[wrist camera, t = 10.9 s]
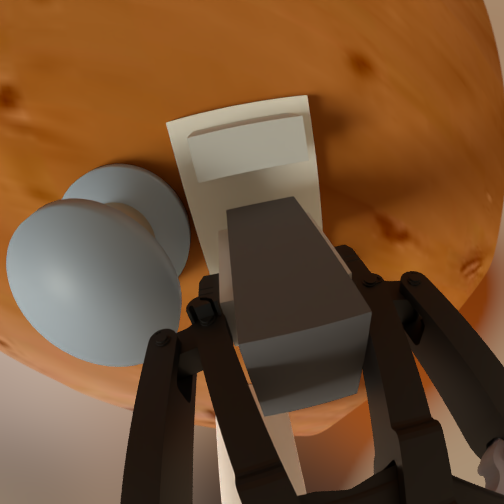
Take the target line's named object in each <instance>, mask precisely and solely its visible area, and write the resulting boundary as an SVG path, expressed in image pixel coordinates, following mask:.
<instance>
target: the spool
mask: <svg viewBox="0 0 504 504" xmlns="http://www.w3.org/2000/svg"><path fill="white" fill-rule="evenodd" d="M190 240H191V230H190V223H189V218H188V215H187V212H186V210H185V207H184V205H183V203H182V201H181V200H180V198H179V197H178V195H177V194H176V192H175V191H174V190H173V189H172V188H171V187H170V186H169V185H168V183H166V182H165V181H164V180H163V179H161V178H160V177H159V176H157V175H156V174H154V173H152V172H150V171H148V170H146V169H144V168H141V167H138V166H135V165H129V164H109V165H104V166H101V167H98V168H96V169H94V170H91V171H90V172H88V173H87V174H85V175H84V176H82V177H81V178H79V179H78V180H77V181H75V182H74V183H73V184H72V185H71V186H70V188H69V189H68V190H67V192H66V193H65V195H64V196H63V198H62V200H57V201H54V202H51V203H48V204H46V205H44V206H43V207H41V208H39V209H38V210H37V211H35V212H34V213H33V214H32V215H31V216H29V217H28V218H27V219H26V220H25V221H24V222H22V223H21V224H20V226H19V227H18V228H17V229H16V231H15V232H14V234H13V236H12V238H11V240H10V243H9V247H8V251H7V258H6V268H7V276H8V281H9V285H10V288H11V291H12V293H13V296H14V298H15V300H16V302H17V304H18V306H19V308H20V309H21V311H22V313H23V314H24V316H25V317H26V318H27V320H28V321H29V322H30V323H31V325H32V326H33V327H34V328H35V329H36V330H37V331H38V332H39V333H40V334H41V335H42V336H43V337H44V338H46V339H47V340H48V341H49V342H51V343H52V344H53V345H55V346H56V347H58V348H59V349H61V350H63V351H65V352H66V353H68V354H70V355H72V356H74V357H77V358H79V359H82V360H84V361H87V362H91V363H95V364H99V365H105V366H115V367H123V366H133V365H138V364H142V363H144V358H145V354H146V350H147V346H148V342H149V339H150V337H151V336H152V335H153V334H154V333H155V332H157V331H159V330H161V329H172V330H174V331H175V332H176V333H177V330H178V327H179V320H180V312H181V304H182V298H181V288H180V282H179V279H178V277H179V275H180V274H181V272H182V270H183V268H184V267H185V264H186V261H187V258H188V253H189V248H190Z"/></svg>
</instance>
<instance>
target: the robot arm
mask: <svg viewBox="0 0 504 504" xmlns="http://www.w3.org/2000/svg"><path fill="white" fill-rule="evenodd" d="M306 214H307V215H308V216H309V218H310V219H311V221H312V222H313V223H314V225H315V226H316V228H317V229H318V230H319V232H320V233H321V235H322V236H323V238H324V239H325V241H326V242H327V243H328V245H329V246H330V248H331V249H332V251H333V252H334V254H335V255H336V257H337V258H338V260H339V261H340V263H341V264H342V266H343V267H344V269H345V270H346V272H347V273H348V275H349V276H350V278H351V279H352V281H353V282H354V284H355V285H356V287H357V289H358V290H359V292H360V293H361V295H362V296H363V298H364V300H365V301H366V303H367V304H368V306H369V308H370V309H371V311H372V315H371V322H370V328H369V335H368V341H367V347H366V352H365V358H364V363H363V368H362V369H363V375H364V380H365V386H366V391H367V397H368V404H369V410H370V417H371V424H372V431H373V439H374V447H375V458H374V475H373V476H372V477H370V478H368V479H367V480H365V481H364V482H362V483H361V484H359V485H357V486H355V487H353V488H352V489H349V490H340V491H321V492H312V493H308V494H304V495H299V496H297V494H296V492H295V490H294V488H293V486H292V484H291V481H290V479H289V477H288V475H287V473H286V471H285V469H284V467H283V464H282V462H281V460H280V458H279V456H278V454H277V451H276V449H275V447H274V445H273V442H272V440H271V438H270V435H269V433H268V431H267V428H266V426H265V424H264V421H263V419H262V417H261V414H260V412H259V410H258V407H257V405H256V402H255V400H254V397H253V395H252V393H251V390H250V388H249V385H248V383H247V380H246V378H245V375H244V372H243V370H242V367H241V365H240V362H239V360H238V357H237V354H236V352H235V349H234V347H233V342H234V345H235V346H238V338H237V328H236V318H235V308H234V297H233V286H232V275H231V264H230V252H229V240H228V229H225V230H221V231H218V249H219V273H217V274H212V275H208V276H203V278H202V280H201V281H200V283H199V294H198V295H199V296H198V297H196V298H194V299H193V300H192V301H190V302H189V304H188V305H187V307H186V312H187V314H188V316H189V318H190V320H191V323H192V325H191V326H190V327H189V328H187V329H185V330H183V331H180V332H178V333H176V332H175V331H174V330H172V329H161V330H159V331H157V332H155V333H154V334H153V335H152V336H151V337H150V339H149V342H148V346H147V350H146V354H145V358H144V363H143V367H142V372H141V376H140V381H139V385H138V390H137V395H136V400H135V405H134V411H133V416H132V422H131V428H130V434H129V439H128V446H127V453H126V460H125V467H124V475H123V484H122V493H121V504H192V487H193V485H192V484H193V440H194V415H195V396H196V379H197V373H198V372H200V371H202V370H203V371H204V375H205V379H206V382H207V386H208V390H209V393H210V397H211V401H212V404H213V408H214V411H215V415H216V418H217V421H218V425H219V428H220V431H221V434H222V438H223V441H224V444H225V447H226V450H227V453H228V456H229V459H230V462H231V465H232V468H233V471H234V474H235V485H236V489H237V492H238V495H239V498H240V500H241V503H242V504H504V367H503V365H502V364H501V363H500V361H499V360H498V359H497V357H496V356H495V355H494V353H493V352H492V351H491V350H490V348H489V347H488V346H487V345H486V343H485V342H484V341H483V340H482V338H481V337H480V336H479V335H478V334H477V332H476V331H475V330H474V329H473V328H472V327H471V325H470V324H469V323H468V322H467V321H466V319H465V318H464V317H463V316H462V315H461V314H460V313H459V312H458V310H457V309H456V308H455V307H454V306H453V305H452V304H451V303H450V302H449V300H448V299H447V298H446V297H445V296H444V295H443V294H442V293H441V292H440V291H439V290H438V289H437V288H436V287H435V286H434V285H433V284H432V283H431V282H430V280H429V279H428V278H427V277H426V276H424V275H423V274H422V273H419V272H415V271H410V272H406V273H404V274H403V275H402V276H401V280H400V281H384V280H383V278H382V277H381V276H379V275H377V274H374V273H371V272H370V271H369V270H368V268H367V267H366V266H365V264H364V263H363V262H362V260H361V259H360V258H359V257H358V255H356V253H355V251H354V250H353V249H352V248H350V247H348V246H347V245H341V246H337V247H333V245H332V244H331V242H330V241H329V240H328V238H327V237H326V235H325V234H324V233H323V231H322V230H321V229H320V227H319V226H318V224H317V223H316V222H315V220H314V219H313V218H312V216H311V215H310V214H309V212H306ZM411 350H412V351H411ZM412 352H413V353H414V355H415V356H416V358H417V359H418V361H419V362H420V364H421V365H422V367H423V368H424V370H425V371H426V373H427V374H428V376H429V378H430V379H431V381H432V383H433V384H434V386H435V387H436V389H437V391H438V392H439V394H440V396H441V397H442V399H443V401H444V402H445V404H446V406H447V407H448V409H449V411H450V412H451V414H452V416H453V418H454V419H455V421H456V423H457V425H458V427H459V428H460V430H461V432H462V434H463V436H464V437H465V439H466V441H467V443H468V444H469V446H470V448H471V449H472V450H473V451H474V453H475V454H476V455H477V456H478V457H479V458H480V459H481V462H480V464H479V466H478V474H479V475H480V476H484V478H485V482H486V486H485V488H483V487H480V486H478V485H475V484H472V483H470V482H467V481H465V480H462V479H460V478H458V477H455V476H453V475H452V474H451V469H450V463H449V458H448V452H447V448H446V443H445V438H444V434H443V430H442V427H441V424H440V423H439V421H437V420H434V419H433V418H432V417H431V414H430V410H429V406H428V403H427V399H426V396H425V392H424V388H423V385H422V382H421V378H420V376H419V372H418V369H417V366H416V363H415V360H414V357H413V354H412Z"/></svg>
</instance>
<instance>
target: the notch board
mask: <svg viewBox="0 0 504 504" xmlns="http://www.w3.org/2000/svg"><path fill="white" fill-rule="evenodd" d="M166 124H167V128H168V132H169V136H170V140H171V144H172V148H173V151H174V155H175V159H176V163H177V166H178V170H179V173H180V177H181V181H182V184H183V188H184V191H185V195H186V198H187V202H188V205H189V208H190V212H191V215H192V219H193V222H194V225H195V228H196V232H197V235H198V238H199V241H200V245H201V248H202V251H203V254H204V257H205V260H206V264H207V267H208V270H209V273H210V275H212V274H217V273H219V249H218V231H221V230H225V229H228V227H227V214H226V210H228V209H233V208H237V207H242V206H247V205H252V204H256V203H261V202H266V201H271V200H276V199H281V198H286V197H291V196H294V197H295V199H296V200H297V201H298V203H299V204H300V205H301V207H302V208H303V210H304V211H305V212H309V214H310V215H311V216H312V218H313V219H314V220H315V222H316V223H317V224H318V226H319V227H320V229H321V230H322V231H323V227H322V213H321V202H320V191H319V181H318V171H317V162H316V154H315V146H314V138H313V131H312V124H311V117H310V110H309V104H308V97H307V95H301V96H292V97H284V98H277V99H270V100H263V101H257V102H251V103H246V104H240V105H235V106H230V107H225V108H221V109H216V110H212V111H207V112H203V113H199V114H195V115H191V116H187V117H184V118H180V119H176V120H173V121H169V122H167V123H166Z"/></svg>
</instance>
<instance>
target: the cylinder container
mask: <svg viewBox="0 0 504 504" xmlns="http://www.w3.org/2000/svg"><path fill="white" fill-rule="evenodd" d="M248 385H249V388H250V390H251V393H252V395H253V397H254V400H255V402H256V405H257V407H258V410H259V412H260V414H261V417H262V419H263V421H264V424H265V426H266V428H267V431H268V433H269V435H270V438H271V440H272V442H273V445H274V447H275V449H276V451H277V454H278V456H279V458H280V460H281V462H282V464H283V467H284V469H285V471H286V473H287V475H288V477H289V479H290V481H291V484H292V486H293V488H294V490H295V492H296V494H297V496H299V495H304V494H306V489H305V485H304V480H303V476H302V471H301V467H300V463H299V458H298V453H297V449H296V444H295V440H294V435H293V431H292V426H291V422H290V418H289V413H288V412H286V413H281V414H276V415H271V416H266V417H264V415H263V412H262V409H261V407H260V404H259V401H258V399H257V396H256V393H255V391H254V388H253V385H252V384H248ZM216 432H217V448H218V463H219V476H220V489H221V499H222V504H242V503H241V500H240V498H239V495H238V492H237V489H236V485H235V474H234V471H233V468H232V465H231V462H230V459H229V456H228V453H227V450H226V447H225V444H224V441H223V438H222V434H221V431H220V428H219V425H218V421H217V418H216Z"/></svg>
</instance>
